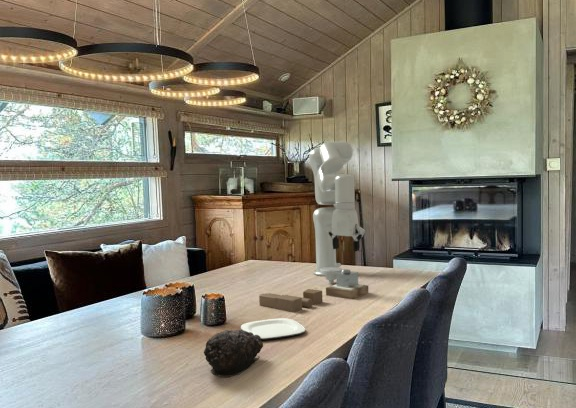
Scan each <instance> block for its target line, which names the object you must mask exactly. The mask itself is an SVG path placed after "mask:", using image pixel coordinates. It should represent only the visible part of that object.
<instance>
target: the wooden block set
mask: <svg viewBox="0 0 576 408" xmlns="http://www.w3.org/2000/svg"><path fill="white" fill-rule="evenodd" d="M258 299H259V306H261V307H262V306H263V307H268V308H271V309H272V308H273V309H276V310H281V311H286V312H290V313H291V312H292V313H296V312H299V311H301V310H303V308H307V309H308V308H309V309H310V307H311V308H312V307H313V306H315V304H316V305H318V303H319V304H321V303H323V301H324V298H323V290H321V289H311V288H308V289H305V290H304V291H303V292H302V297H301V296H296V295H289V294H276V293H272V292H271V293H270V292H268V293H261V294H259V295H258Z"/></svg>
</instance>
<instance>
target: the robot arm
mask: <svg viewBox="0 0 576 408" xmlns="http://www.w3.org/2000/svg"><path fill="white" fill-rule="evenodd" d="M352 157H353V147H352V145H351V143H349V142H348V141H326V142H324V143H322V144H321V145H320V147H317V148H316V147H315V148H314V149H312V150H311V151H310V152H309V156H308V159H309V165H310V168H311V170H312V173H313V178H314V196H315V201H316V203H317V205H321V206H322V205H323V206H328V205H330V207H319V208H316V209H315V210H314V211H313V214H312V219H313V220H312V221H313V227H314V233H315V235H314V236H315V264H316V265H315V267H316V269H314V270H313V271H312V272H313V275H315V276H323V277H326V274H323V273H321V272H320V269H321V268H325V267H339V268H341V266H342V264H341V262H337V249H339V248H340V247H339V246H340V244H339V242H340V241H339V238H338V237H339V236H340V237H352V239H353V241H352V243H353V244H352V245H353V247H352V250H353V252H358V251H360V248H361V247H360V242H361V240H362V239H363V238H364V235H365V234H366V230H365V229H364V227H361V226H360V225H359V219H358V218H359V217H358V213H357V210H356V205H355V204H356V202H355V198H356V197H355V193H356V192H355V177H354V175H352V174H349V173H342V174H341V173H339V172H341V171H342V170H343V169H344V166H345V165H346V164H347V163H349V162H350V161H351V159H352ZM331 205H333V207H331Z"/></svg>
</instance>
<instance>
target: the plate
mask: <svg viewBox="0 0 576 408" xmlns="http://www.w3.org/2000/svg"><path fill="white" fill-rule="evenodd" d="M240 330H244V331H247V332H251V333H253V335H259V336H260V337H261V340H275V339H282V338H289V337H291V336H297V335H301V334H303V333H305V332H306V328H305V327H304V326H303V325H302V324H301V323H299V322H298V321H296V320H295V319H292V318H287V317H285V318H284V317H283V318H282V317H280V318H279V317H278V318H269V319H263V320H262V319H261V320H255V321H249V322H245V323H243V324H241V326H240Z"/></svg>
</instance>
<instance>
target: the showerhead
mask: <svg viewBox="0 0 576 408" xmlns="http://www.w3.org/2000/svg"><path fill="white" fill-rule="evenodd" d="M341 270H343V268H341V267H325V268H321V269H320V272H321V273H323V274H326V276H325V280H327V281H328V284H329V285H334V284H335V280H336V281H337V276H336V274H337V273H340V272H341ZM333 283H334V284H333Z"/></svg>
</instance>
